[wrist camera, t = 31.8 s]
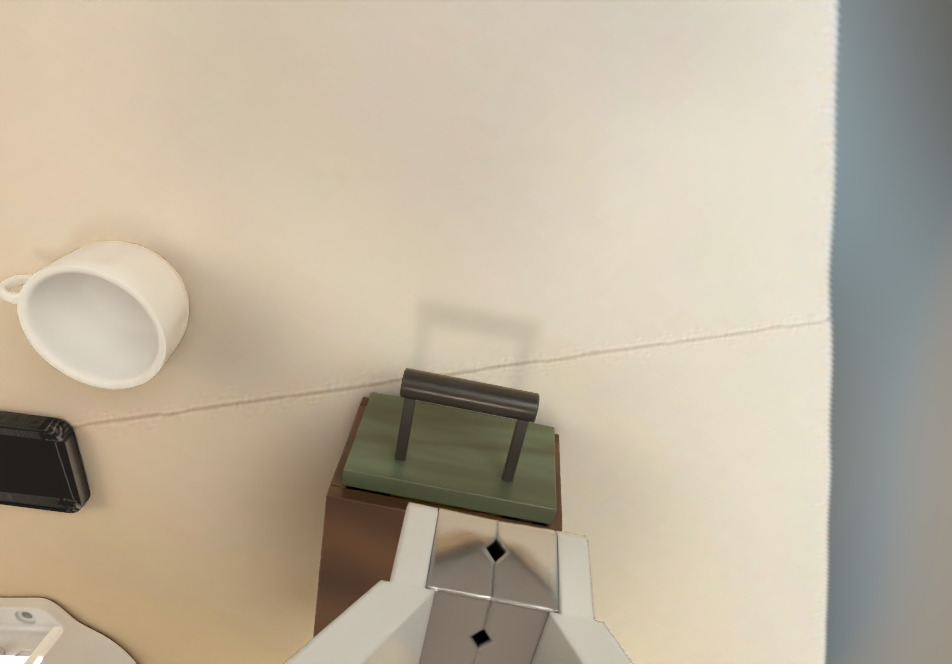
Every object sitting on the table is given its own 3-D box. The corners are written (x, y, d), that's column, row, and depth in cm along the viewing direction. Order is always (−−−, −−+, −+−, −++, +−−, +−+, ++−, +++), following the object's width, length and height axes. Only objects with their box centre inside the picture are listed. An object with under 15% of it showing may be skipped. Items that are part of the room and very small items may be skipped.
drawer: (381, 311, 40) (353, 381, 34) (578, 350, 40) (584, 426, 34) (351, 547, 50) (325, 634, 44) (508, 577, 50) (504, 667, 44)
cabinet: (363, 396, 44) (326, 495, 36) (559, 434, 44) (563, 540, 37) (343, 558, 52) (310, 667, 44) (510, 589, 52) (505, 704, 45)
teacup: (210, 243, 40) (166, 286, 35) (205, 353, 43) (165, 405, 39) (34, 199, 39) (-35, 236, 34) (44, 314, 43) (-16, 361, 38)
